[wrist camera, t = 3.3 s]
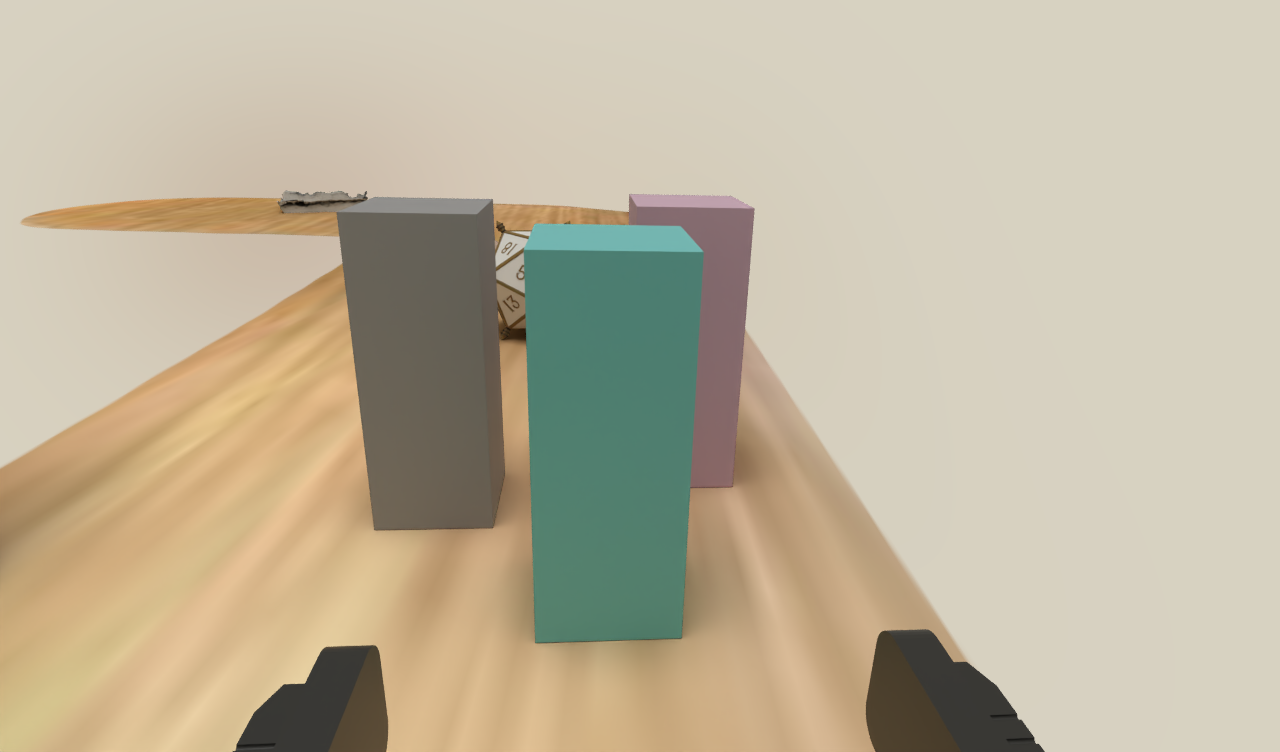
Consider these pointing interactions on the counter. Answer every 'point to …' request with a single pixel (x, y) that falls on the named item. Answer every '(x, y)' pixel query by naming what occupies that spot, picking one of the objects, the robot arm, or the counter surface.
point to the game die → (511, 277)
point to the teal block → (610, 426)
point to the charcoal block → (426, 358)
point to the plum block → (712, 317)
